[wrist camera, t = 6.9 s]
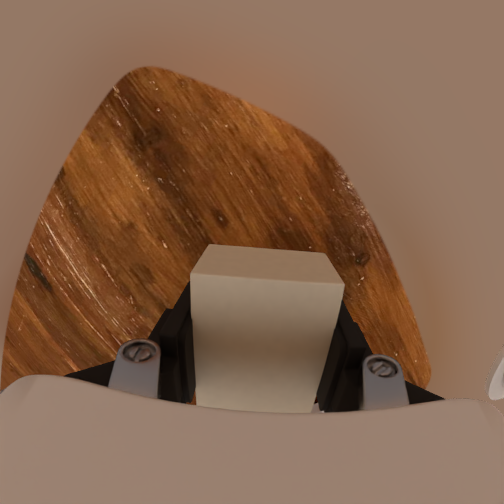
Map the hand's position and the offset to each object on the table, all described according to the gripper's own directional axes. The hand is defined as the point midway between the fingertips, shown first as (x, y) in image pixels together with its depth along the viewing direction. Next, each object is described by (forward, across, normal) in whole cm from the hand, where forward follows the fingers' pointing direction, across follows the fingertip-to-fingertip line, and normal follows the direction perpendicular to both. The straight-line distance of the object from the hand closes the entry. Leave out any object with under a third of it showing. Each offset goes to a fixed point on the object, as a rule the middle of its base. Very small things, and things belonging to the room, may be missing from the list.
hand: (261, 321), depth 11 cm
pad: (0, 0, 0) cm, 0 cm away
